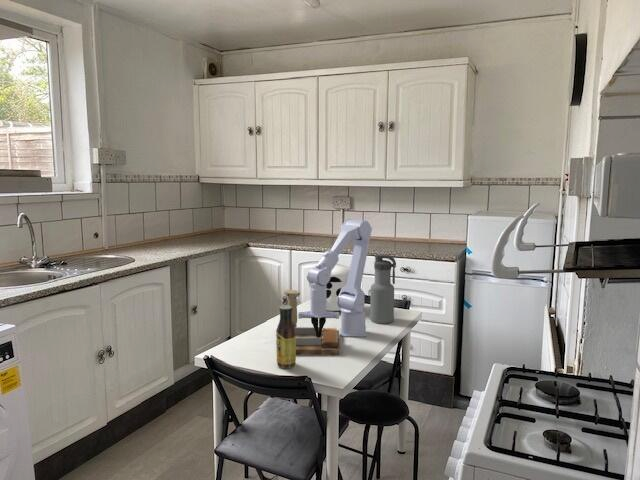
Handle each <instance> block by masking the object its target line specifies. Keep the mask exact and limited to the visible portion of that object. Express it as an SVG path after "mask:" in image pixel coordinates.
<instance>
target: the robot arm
mask: <svg viewBox="0 0 640 480" xmlns="http://www.w3.org/2000/svg"><path fill="white" fill-rule="evenodd" d="M372 230H373V229H372V226H371V224H370V222H369V221H368V220H360V219H359V220H358V219H351V218H349V219H348V218H347V219H345V220H344V222H343V223H342V224H341V226H340V233H339V235H338V236H337V238H336V240H335V241H334V244H333V245H332V247H331V248H330V250H326V251H325V252H323V253H322V256H321V257H320V259H319V261H318V262H317V264H316V265H315V266H314V267H312V268H310V269H309V270H308V273H307V275H306V280H307V282H308V284H309V285H308V286H309V287H310V310H309V311H298V312H297V320H298V319H310V322H311V325H312V327H314V329H315V332H316V336H317V337H321V332H322V330H323V328H324V326H325V325H326V322H327V319H336V320H338V319H339V318H340V319H341V320H340V327H341V328H339V337H361V338H362V337H366V330H367V326H366V311H364V307H365V304H366V303H365V295H366V293H365V292H364V290H362V288H361V286H362V281H363V277H364V271H365V268H366V267H365V265H366V262H367V257H368V251H369V245H370V239H371V235H372ZM350 241H351V242H352V243H353V245H354V246H353V251H352V256H351V260H350V266H349V269H350V270H349V275H348V280H347V285H346V286H344V287H343V288H341V291H340V294H339V296H338V298H337V305H338V307H340V310H341V312H330V311H326V284H327V283H328V282H329V281H330V275H331V271H332V270H333V268H334V267H336V266H337V264H338V262H339V261H340V260H339V255H340V254H341V252H342V251H343V250H344V249H345V248H346V246H347V245H348V244H349V243H350ZM349 293H353V295H352V294H349ZM340 313H341V314H340ZM339 314H340V315H341V316H340V315H339ZM318 327H319V330H318Z"/></svg>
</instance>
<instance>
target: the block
mask: <svg viewBox="0 0 640 480" xmlns="http://www.w3.org/2000/svg"><path fill="white" fill-rule="evenodd" d="M322 330H323V342H337V330H338V329H337V327H323V329H322Z"/></svg>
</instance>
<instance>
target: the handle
mask: <svg viewBox="0 0 640 480" xmlns="http://www.w3.org/2000/svg"><path fill="white" fill-rule="evenodd" d="M283 294H284V296H285V297H287V305H289V306H292V322H293V323H294V325H295V327H298V326H297V325H298V324H297V323H298V308H297V307H298V305H297V304H298V303H297V297H299V296H300V295H301V291H300V290H297V289H296V290H295V289H286V290H284V291H283Z"/></svg>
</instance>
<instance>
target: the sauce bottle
mask: <svg viewBox="0 0 640 480" xmlns="http://www.w3.org/2000/svg"><path fill="white" fill-rule="evenodd" d="M275 332H276V335H275V336H276V337H275V338H276V342H275V343H276V344H275V345H276V347H275V348H276V365H277V366H278V368H280V369H291V368H294V367H295V366H296V361H297V360H296V359H297V355H296V334H295V325H294V323H293V322H292V306H289V305H288V304H287V305H281V306H279V322H278V324H277V328H276V331H275Z"/></svg>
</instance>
